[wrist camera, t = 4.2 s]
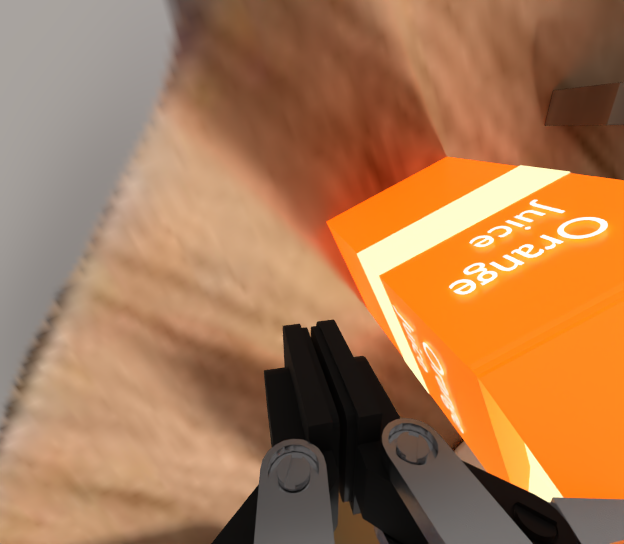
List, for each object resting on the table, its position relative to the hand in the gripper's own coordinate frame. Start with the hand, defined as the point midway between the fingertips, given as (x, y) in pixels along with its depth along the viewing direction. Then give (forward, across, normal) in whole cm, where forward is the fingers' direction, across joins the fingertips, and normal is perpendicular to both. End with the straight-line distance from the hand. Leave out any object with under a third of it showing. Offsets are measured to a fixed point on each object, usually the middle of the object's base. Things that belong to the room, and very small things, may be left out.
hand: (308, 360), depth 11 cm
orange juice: (+11, -9, 0) cm, 15 cm away
